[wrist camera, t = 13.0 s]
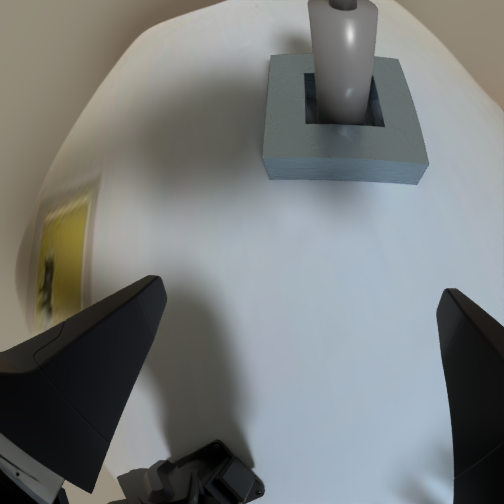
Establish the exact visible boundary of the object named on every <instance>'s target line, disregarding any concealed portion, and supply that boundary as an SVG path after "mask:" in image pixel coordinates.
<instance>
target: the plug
mask: <svg viewBox="0 0 504 504" xmlns="http://www.w3.org/2000/svg"><path fill="white" fill-rule="evenodd" d="M308 11H309V19H310V28H311V38H312V48H313V60H314V73H315V87H316V105H317V123H318V124H337V125H360V126H364V123H365V117H366V111H367V105H368V99H369V92H370V85H371V77H372V70H373V61H374V53H375V43H376V32H377V20H378V8H377V7H376V5H375V4H373V3H372V2H371V1H369V0H309V1H308Z"/></svg>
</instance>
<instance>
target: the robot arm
mask: <svg viewBox="0 0 504 504" xmlns="http://www.w3.org/2000/svg"><path fill="white" fill-rule="evenodd" d="M166 303H167V294H166V291H165V288H164V285H163V281H162V279H161V277H160V276H155V275H148V276H146V277H144V278H142V279H140V280H138V281H136V282H135V283H133V284H131V285H129V286H127V287H125V288H123V289H122V290H120V291H118V292H116V293H114V294H112V295H110V296H109V297H107V298H105V299H103V300H101V301H99V302H97V303H96V304H94V305H92V306H90V307H88V308H87V309H85V310H83V311H81V312H79V313H77V314H76V315H74V316H72V317H70V318H68V319H67V320H66V321H63V322H61V323H59V324H58V325H56V326H54V327H52V328H50V329H49V330H47V331H45V332H43V333H41V334H39V335H37V336H35V337H33V338H31V339H29V340H27V341H25V342H23V343H21V344H18V345H17V346H14V347H12V348H10V349H8V350H6V351H3V352H0V504H69V502H68V499H67V496H66V492H65V489H64V488H62V485H63V483H64V481H65V480H67V481H69V482H70V483H72V484H74V485H75V486H77V487H79V488H81V489H83V490H85V491H86V492H88V493H90V494H92V492H93V489H94V487H95V484H96V481H97V478H98V475H99V472H100V470H101V467H102V464H103V462H104V459H105V456H106V454H107V451H108V448H109V446H110V443H111V440H112V438H113V435H114V433H115V430H116V428H117V425H118V422H119V420H120V418H121V415H122V413H123V410H124V408H125V405H126V403H127V400H128V398H129V396H130V393H131V391H132V389H133V386H134V384H135V382H136V379H137V377H138V375H139V372H140V370H141V368H142V365H143V363H144V361H145V359H146V356H147V354H148V352H149V350H150V348H151V345H152V343H153V341H154V338H155V335H156V332H157V329H158V326H159V323H160V320H161V317H162V314H163V312H164V309H165V306H166ZM436 317H437V324H438V332H439V341H440V350H441V358H442V364H443V369H444V375H445V381H446V387H447V393H448V401H449V408H450V417H451V426H452V438H453V455H454V499H453V504H504V327H503V326H502V325H501V324H500V323H499V322H498V321H496V320H495V319H494V318H493V317H492V316H490V315H489V314H488V313H487V312H486V311H484V310H483V309H482V308H481V307H479V306H478V305H477V304H476V303H474V302H473V301H472V300H471V299H469V298H468V297H467V296H466V295H464V294H463V293H462V292H460V291H459V290H458V289H456V288H446V289H445V290H444V291H443V293H442V296H441V299H440V302H439V305H438V308H437V312H436ZM215 444H217V445H219V448H217V447H215ZM117 479H118V482H119V484H120V486H121V489H122V491H123V493H124V495H125V497H126V499H123V500H118V501H112V502H109V503H108V504H246V503H248V502H251V501H253V500H255V499H257V498H259V497H262V496H263V495H264V493H265V489H264V488H263V487H262V486H261V485H260V484H259V483H258V482H257V481H256V480H255V476H254V475H253V474H252V473H251V472H250V471H249V470H248V469H247V467H246V466H245V465H244V464H243V463H242V462H241V461H240V460H239V459H238V457H235V456H233V454H232V453H231V452H230V451H229V450H228V449H227V447H226V446H225V445H224V444H223V443H222V442H221V441H219V440H215V441H213V442H211V443H209V444H207V445H206V446H204V447H202V448H200V449H198V450H196V451H194V452H193V453H191V454H189V455H187V456H185V457H183V458H181V459H179V460H177V461H175V462H173V463H170V462H169V461H168V460H159V461H158V462H156V463H155V464H154V465H152V466H151V467H150V468H149V469H146V468H139V469H134V470H131V471H130V472H128V473H126V474H123V475H120V476H118V477H117ZM257 490H258V491H261V493H258V492H256V491H257Z"/></svg>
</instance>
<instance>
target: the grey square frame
mask: <svg viewBox="0 0 504 504" xmlns="http://www.w3.org/2000/svg"><path fill="white" fill-rule="evenodd" d="M306 97H316V87H315V73H314V60H313V54H282V55H271V58H270V70H269V82H268V94H267V106H266V118H265V130H264V142H263V154H262V159H263V162H264V165H265V168H266V171H267V174H268V177H269V179H310V180H347V181H369V182H386V183H400V184H413V185H417V184H418V182H419V181H420V179H421V177H422V176H423V174H424V172H425V171H426V169H427V167H428V166H429V161H428V157H427V152H426V148H425V143H424V139H423V135H422V131H421V127H420V124H419V120H418V117H417V113H416V110H415V106H414V103H413V100H412V97H411V94H410V91H409V88H408V85H407V82H406V79H405V76H404V73H403V71H402V68H401V65H400V63H399V60H398V59H393V58H385V57H375V56H374V61H373V70H372V77H371V85H370V92H369V99H368V100H370V104H371V109H372V114H373V120H374V125H375V126H360V125H337V124H307V98H306Z"/></svg>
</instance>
